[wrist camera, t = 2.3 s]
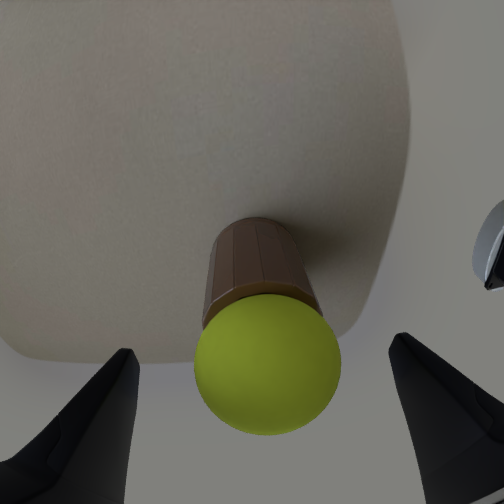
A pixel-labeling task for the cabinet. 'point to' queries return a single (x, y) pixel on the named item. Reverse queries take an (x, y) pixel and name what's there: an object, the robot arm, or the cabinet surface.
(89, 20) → the cabinet surface
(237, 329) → the ball
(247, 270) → the brown cup
